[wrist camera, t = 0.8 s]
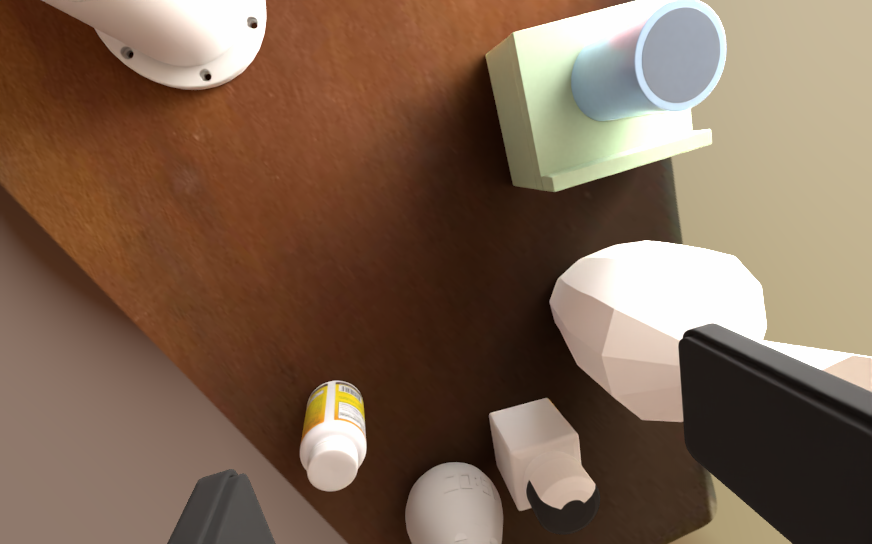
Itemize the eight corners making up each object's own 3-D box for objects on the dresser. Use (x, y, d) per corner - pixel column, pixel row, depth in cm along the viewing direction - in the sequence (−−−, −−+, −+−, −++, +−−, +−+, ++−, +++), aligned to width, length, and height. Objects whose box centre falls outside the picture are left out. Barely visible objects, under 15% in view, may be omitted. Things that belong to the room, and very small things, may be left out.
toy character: (504, 458, 50) (550, 547, 38) (472, 534, 52) (506, 639, 40) (420, 441, 47) (442, 530, 36) (389, 521, 49) (401, 630, 38)
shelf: (484, 54, 39) (522, 24, 30) (625, 17, 40) (700, -22, 32) (512, 186, 42) (554, 192, 34) (641, 147, 44) (712, 144, 35)
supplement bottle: (309, 429, 44) (297, 504, 35) (306, 380, 43) (293, 443, 33) (364, 424, 46) (368, 496, 36) (363, 376, 44) (367, 436, 34)
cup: (564, 45, 33) (628, 11, 25) (639, 25, 34) (723, -14, 26) (577, 131, 35) (641, 123, 27) (649, 110, 36) (730, 96, 28)
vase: (568, 375, 49) (776, 578, 25) (502, 278, 44) (678, 412, 21) (669, 299, 49) (973, 429, 25) (614, 195, 45) (917, 233, 21)
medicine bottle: (553, 448, 51) (612, 532, 39) (496, 465, 50) (539, 555, 38) (547, 395, 49) (608, 467, 38) (487, 412, 48) (530, 490, 37)
